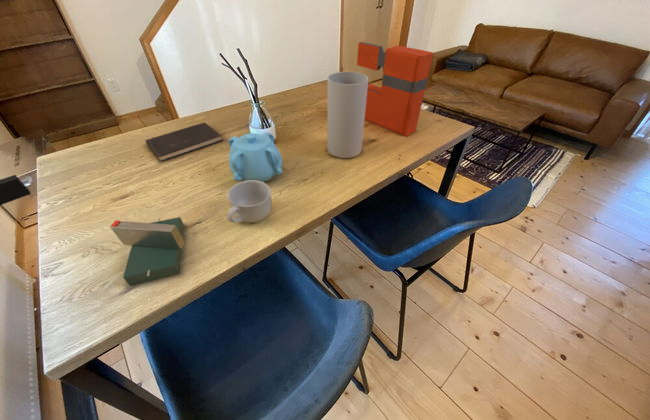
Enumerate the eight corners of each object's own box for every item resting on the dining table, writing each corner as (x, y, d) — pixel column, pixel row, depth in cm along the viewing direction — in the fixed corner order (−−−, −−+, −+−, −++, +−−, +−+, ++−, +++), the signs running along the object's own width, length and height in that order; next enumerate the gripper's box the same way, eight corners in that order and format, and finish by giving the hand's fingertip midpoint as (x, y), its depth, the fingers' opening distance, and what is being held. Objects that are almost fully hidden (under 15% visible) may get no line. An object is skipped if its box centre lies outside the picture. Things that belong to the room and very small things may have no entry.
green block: (198, 273, 61) (193, 264, 59) (107, 295, 58) (98, 286, 55) (200, 219, 74) (196, 210, 72) (125, 234, 70) (119, 225, 68)
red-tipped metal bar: (185, 243, 64) (175, 224, 60) (180, 249, 63) (170, 230, 58) (128, 238, 65) (115, 219, 61) (123, 244, 64) (109, 226, 60)
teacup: (255, 197, 81) (250, 174, 76) (282, 211, 76) (279, 188, 71) (216, 224, 73) (208, 201, 67) (244, 242, 68) (237, 219, 63)
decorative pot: (282, 158, 97) (277, 121, 88) (284, 185, 85) (279, 146, 76) (235, 162, 95) (225, 125, 86) (230, 190, 83) (218, 151, 74)
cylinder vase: (367, 148, 102) (375, 76, 85) (349, 163, 94) (354, 87, 78) (339, 138, 107) (342, 69, 90) (320, 152, 100) (319, 79, 83)
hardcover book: (222, 140, 106) (221, 135, 105) (160, 162, 95) (158, 156, 94) (205, 126, 115) (203, 121, 114) (147, 145, 104) (144, 139, 103)
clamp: (354, 105, 132) (359, 36, 113) (418, 129, 113) (437, 51, 94) (340, 111, 127) (343, 40, 108) (405, 136, 108) (422, 56, 89)
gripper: (-216, 275, 33) (33, 186, 45) (-252, 354, 26) (51, 224, 39) (-315, 232, 28) (-4, 145, 40) (-391, 317, 21) (9, 181, 34)
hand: (22, 184), depth 40 cm, fingers closed
